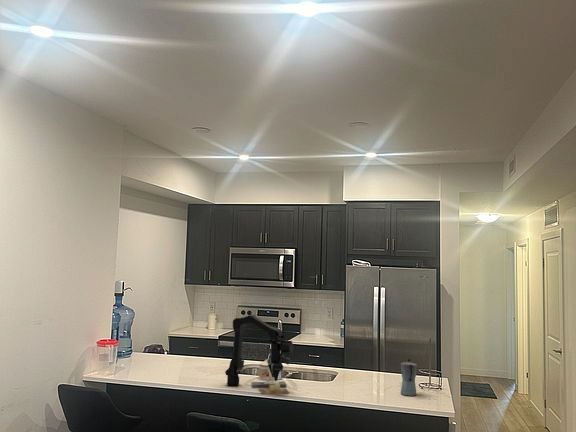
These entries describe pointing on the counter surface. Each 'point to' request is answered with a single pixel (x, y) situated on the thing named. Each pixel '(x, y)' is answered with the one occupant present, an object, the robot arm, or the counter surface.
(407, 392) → the moka pot
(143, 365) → the counter surface
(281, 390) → the walnut board
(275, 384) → the lever cap
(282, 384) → the plane body
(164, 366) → the counter surface
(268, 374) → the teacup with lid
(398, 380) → the counter surface
